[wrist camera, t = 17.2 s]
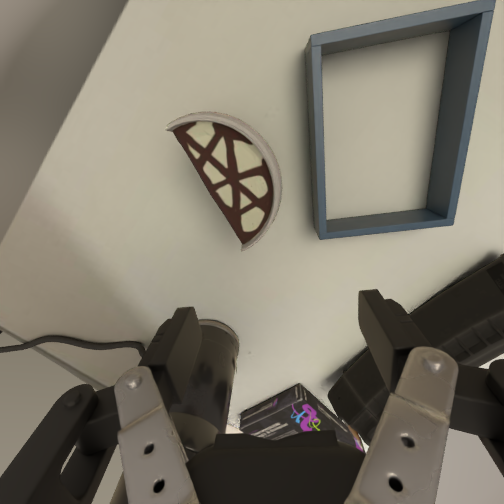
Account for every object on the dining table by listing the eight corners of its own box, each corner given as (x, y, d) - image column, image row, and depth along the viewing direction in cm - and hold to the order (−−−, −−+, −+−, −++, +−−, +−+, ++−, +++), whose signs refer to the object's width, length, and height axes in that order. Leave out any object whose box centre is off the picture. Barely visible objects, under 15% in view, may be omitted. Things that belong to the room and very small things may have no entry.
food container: (297, 197, 31) (308, 226, 22) (252, 220, 32) (244, 256, 23) (245, 90, 26) (232, 71, 17) (196, 124, 28) (160, 122, 19)
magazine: (603, 269, 22) (384, 512, 26) (622, 289, 23) (407, 523, 26) (441, 238, 39) (321, 388, 42) (455, 250, 40) (336, 396, 43)
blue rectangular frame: (314, 227, 32) (319, 240, 28) (305, 48, 24) (310, 34, 21) (432, 214, 30) (453, 225, 27) (461, 17, 23) (497, -4, 19)
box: (360, 435, 50) (300, 381, 44) (367, 456, 47) (303, 400, 41) (301, 459, 54) (239, 412, 48) (304, 479, 51) (237, 432, 45)
